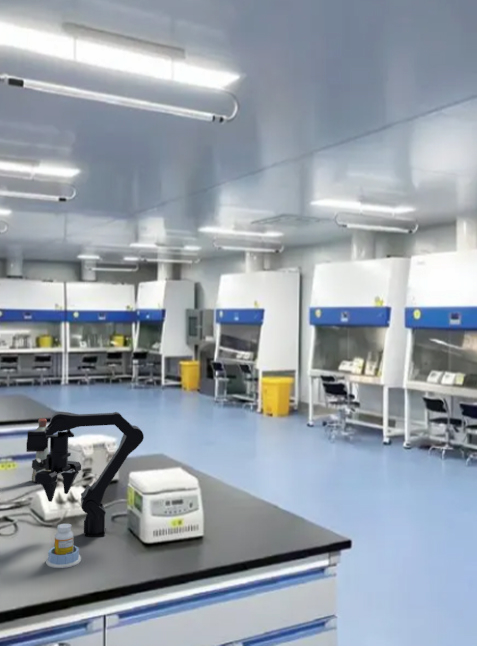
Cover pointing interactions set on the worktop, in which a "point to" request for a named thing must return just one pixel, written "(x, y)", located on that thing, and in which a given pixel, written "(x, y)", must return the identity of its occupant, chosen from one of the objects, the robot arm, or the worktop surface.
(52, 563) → the holder
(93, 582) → the worktop surface
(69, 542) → the supplement bottle
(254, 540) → the worktop surface
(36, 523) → the worktop surface
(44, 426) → the bottle
